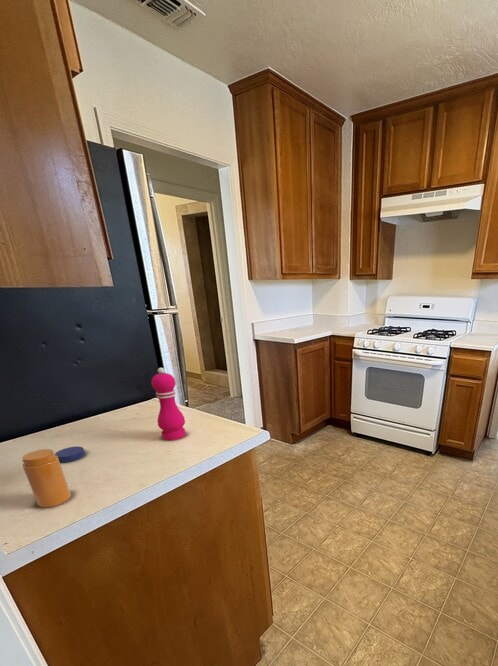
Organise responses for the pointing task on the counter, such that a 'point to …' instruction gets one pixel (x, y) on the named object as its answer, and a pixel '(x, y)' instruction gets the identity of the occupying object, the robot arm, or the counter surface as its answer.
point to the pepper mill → (168, 406)
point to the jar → (46, 478)
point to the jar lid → (70, 454)
